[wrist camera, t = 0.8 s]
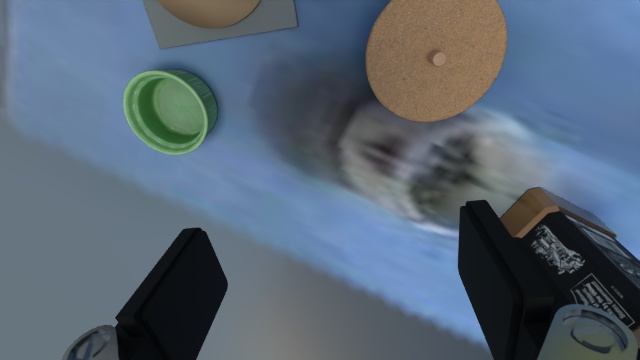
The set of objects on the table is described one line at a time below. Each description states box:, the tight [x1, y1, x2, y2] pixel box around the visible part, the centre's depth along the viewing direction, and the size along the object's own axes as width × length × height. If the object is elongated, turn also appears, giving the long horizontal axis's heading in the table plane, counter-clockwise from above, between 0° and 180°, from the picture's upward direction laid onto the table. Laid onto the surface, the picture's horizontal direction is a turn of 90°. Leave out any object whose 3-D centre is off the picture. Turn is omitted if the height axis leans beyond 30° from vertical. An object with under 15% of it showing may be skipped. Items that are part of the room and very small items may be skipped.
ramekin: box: [123, 70, 217, 155], centre depth 34 cm, size 9×9×4 cm
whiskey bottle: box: [500, 188, 640, 349], centre depth 26 cm, size 10×10×32 cm
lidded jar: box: [365, 0, 507, 122], centre depth 27 cm, size 11×11×9 cm
